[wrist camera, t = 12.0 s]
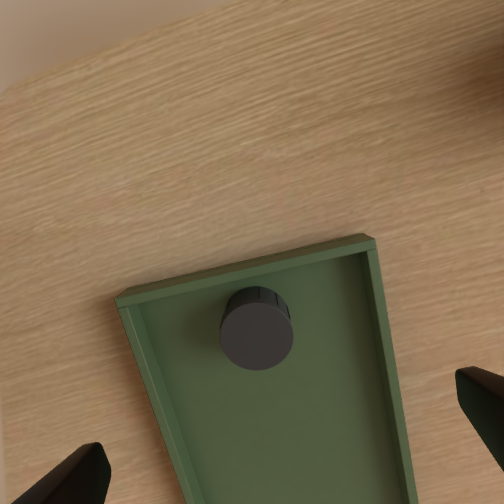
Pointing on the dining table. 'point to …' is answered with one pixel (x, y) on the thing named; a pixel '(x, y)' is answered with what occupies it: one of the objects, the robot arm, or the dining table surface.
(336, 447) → the tray
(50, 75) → the dining table surface
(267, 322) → the flask cap
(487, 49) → the dining table surface
